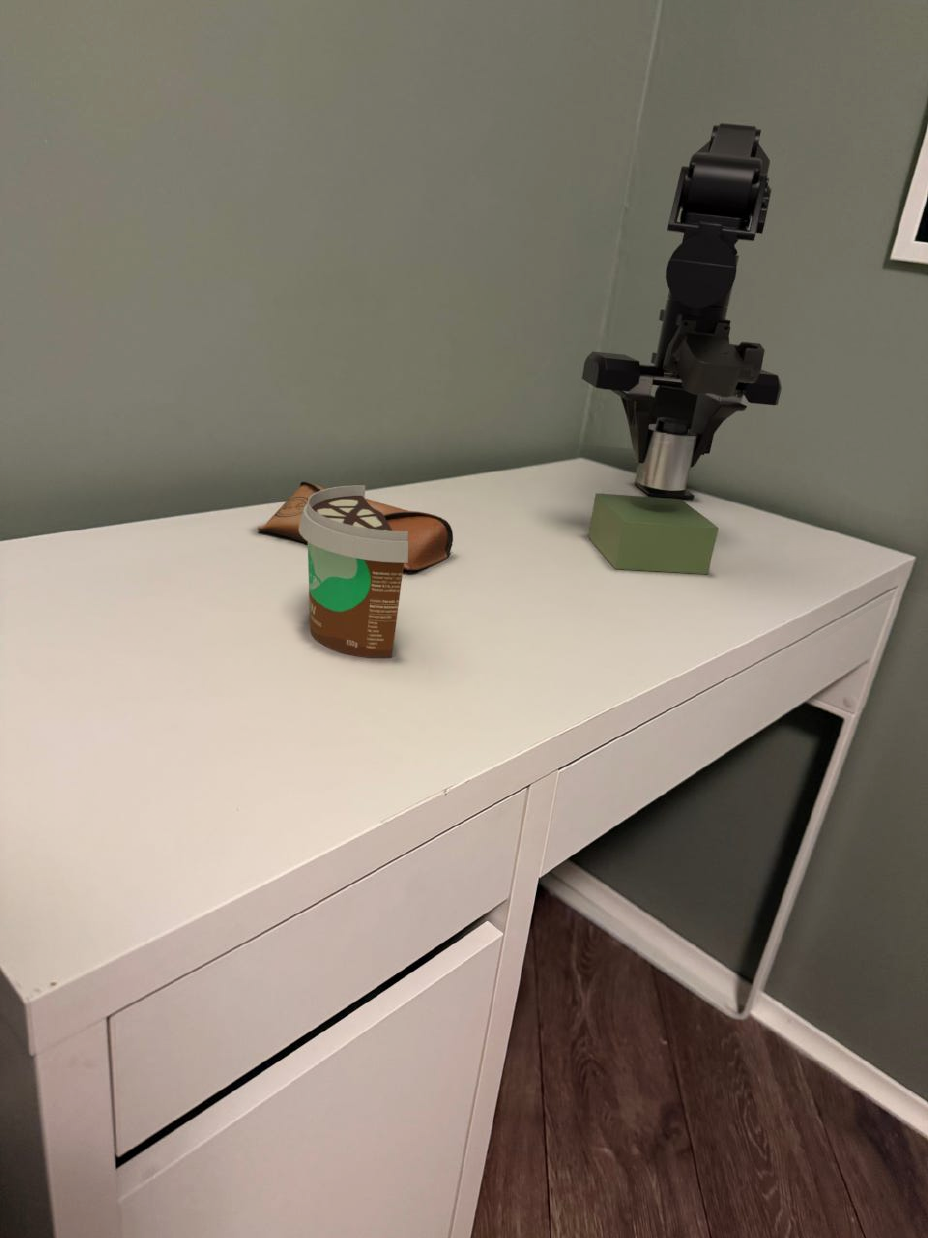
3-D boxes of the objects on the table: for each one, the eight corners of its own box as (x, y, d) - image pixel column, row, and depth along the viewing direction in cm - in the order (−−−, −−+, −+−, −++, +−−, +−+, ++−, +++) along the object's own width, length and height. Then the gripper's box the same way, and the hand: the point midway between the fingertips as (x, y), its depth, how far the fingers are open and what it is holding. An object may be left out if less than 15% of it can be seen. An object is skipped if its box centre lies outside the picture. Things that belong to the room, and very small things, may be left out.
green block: (587, 536, 98) (595, 492, 96) (672, 542, 100) (682, 499, 98) (614, 569, 89) (624, 521, 87) (707, 574, 91) (719, 527, 89)
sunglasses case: (250, 527, 86) (273, 463, 87) (285, 547, 93) (306, 487, 94) (414, 572, 80) (437, 503, 81) (439, 590, 87) (460, 526, 87)
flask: (628, 475, 93) (640, 413, 91) (675, 478, 94) (688, 417, 92) (644, 489, 89) (657, 424, 86) (693, 492, 90) (707, 428, 87)
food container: (281, 602, 72) (285, 482, 68) (355, 599, 74) (363, 483, 70) (312, 672, 62) (319, 534, 58) (397, 666, 64) (410, 534, 60)
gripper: (630, 300, 76) (598, 479, 82) (830, 323, 79) (785, 493, 85) (594, 290, 86) (568, 450, 92) (772, 310, 89) (736, 463, 95)
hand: (664, 464), depth 91 cm, fingers closed on flask, 5 cm apart
